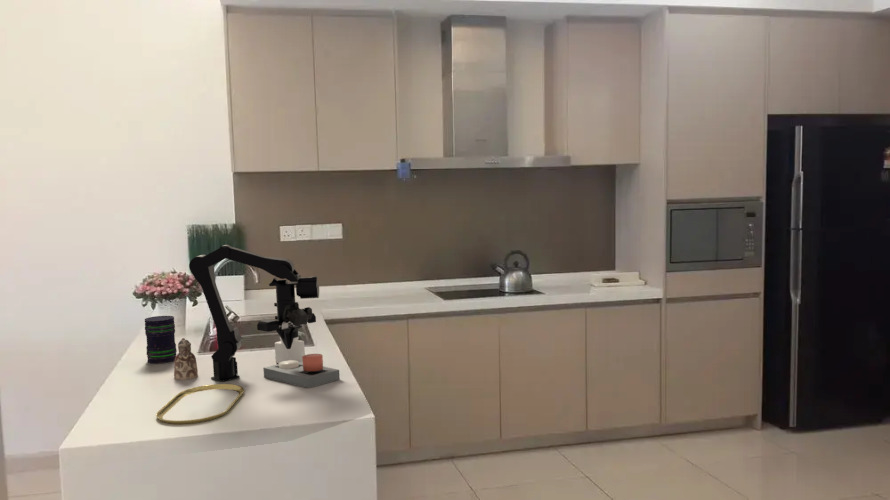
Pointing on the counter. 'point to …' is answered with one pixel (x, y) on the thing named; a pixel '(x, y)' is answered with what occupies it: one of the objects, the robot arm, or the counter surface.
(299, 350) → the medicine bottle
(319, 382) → the grey holder tray
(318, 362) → the red button
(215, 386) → the brass oval bangle
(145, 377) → the counter surface
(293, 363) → the white button
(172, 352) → the storage jar
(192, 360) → the figurine
